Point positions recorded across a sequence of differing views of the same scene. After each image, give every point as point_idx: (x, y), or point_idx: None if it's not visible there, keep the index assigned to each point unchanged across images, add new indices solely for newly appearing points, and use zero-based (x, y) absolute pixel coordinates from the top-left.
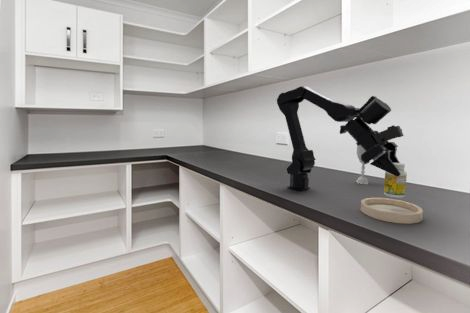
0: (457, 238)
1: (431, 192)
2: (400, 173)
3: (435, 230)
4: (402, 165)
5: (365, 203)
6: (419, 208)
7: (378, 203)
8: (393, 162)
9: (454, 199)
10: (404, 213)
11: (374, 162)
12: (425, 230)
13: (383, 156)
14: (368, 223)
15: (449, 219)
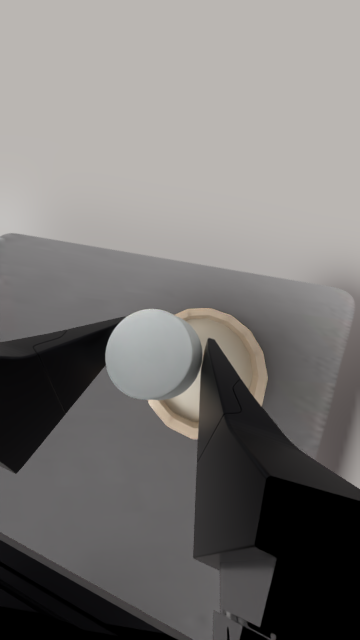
0: (268, 283)
1: (13, 276)
2: (197, 337)
3: (252, 303)
4: (181, 321)
5: (189, 422)
6: (194, 311)
7: None
8: (79, 362)
9: (57, 252)
10: (249, 342)
11: (314, 572)
12: (262, 316)
13: (331, 540)
14: (295, 411)
15: (182, 277)
